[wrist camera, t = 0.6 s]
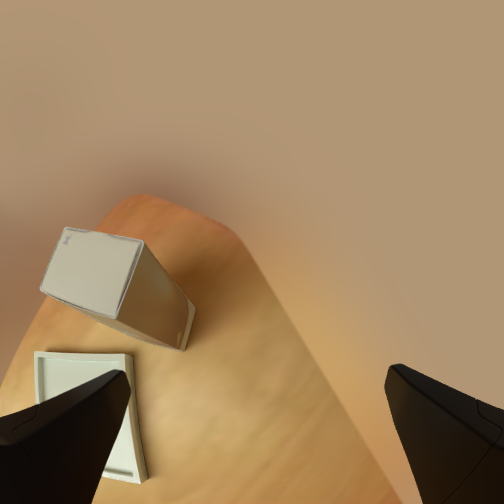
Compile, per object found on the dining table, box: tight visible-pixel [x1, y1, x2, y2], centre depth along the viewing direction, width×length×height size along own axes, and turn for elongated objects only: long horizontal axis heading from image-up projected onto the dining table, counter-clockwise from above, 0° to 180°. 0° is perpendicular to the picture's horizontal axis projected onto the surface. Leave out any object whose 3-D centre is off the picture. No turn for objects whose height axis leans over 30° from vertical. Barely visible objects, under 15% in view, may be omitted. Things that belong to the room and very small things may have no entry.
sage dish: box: [34, 351, 148, 484], centre depth 18 cm, size 12×12×2 cm
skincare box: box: [40, 227, 196, 352], centre depth 18 cm, size 6×4×12 cm
